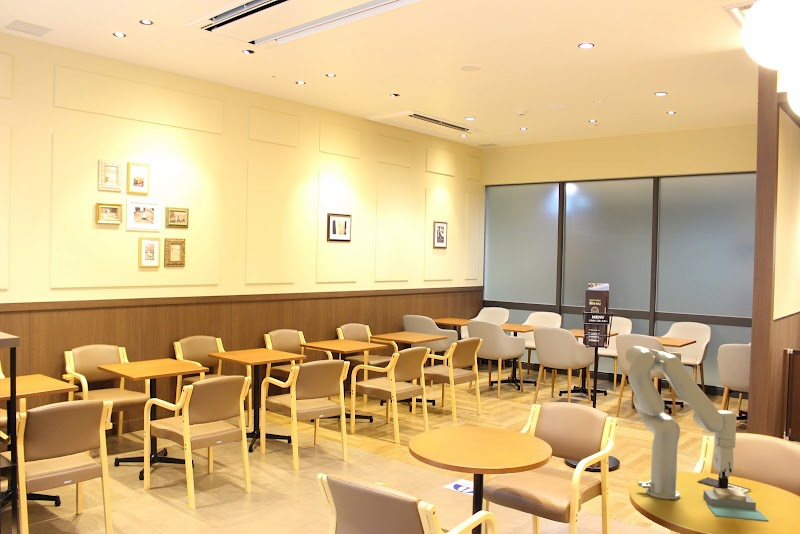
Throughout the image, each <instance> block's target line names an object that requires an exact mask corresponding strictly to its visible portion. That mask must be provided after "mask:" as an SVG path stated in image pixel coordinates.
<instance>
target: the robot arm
mask: <svg viewBox="0 0 800 534" xmlns="http://www.w3.org/2000/svg"><path fill="white" fill-rule="evenodd" d="M625 360H626V362H627V363H628V364H629V365H630V366H629V369H628V376H627V377H628V383H629V386H630V388H631V390H632V391H633V395H632V402H633V405H634V408H635V409H636V411H637V413H638V415H639V416H640V419H641V420H642V422H643V424H644V426H645V427H646V429H648V431H649V432H651V433H652V434H653V440H652V444H651V456H650V457H651V459H650V460H651V461H650V463H651V464H650V479H648V481H645V482H643V481H640V480H639V481H638V482H637V486H638V487H640V488H641V487H642V488H641V489H645V492H646V494H647V495H649V496H651V497H653V498H655V499H656V498H657V499H661V500H669V499H670V501H671V499H672V500H678V499H679V498H681V493H680V492H679V491H677V475H678V474H677V469H678V449H679V448H678V447H679V440H680V437H681V427H680V424H679V423H678V421H677V420H676V419H675V418H673V417H672V416H670V415H669V414H667V413H665V407H666V406H665V401H664V399H663V397H662V396H661V394H660V393H659V390H658V389H657V387H656V386H655V383H654V382H653V380H652V375H651V374H652V373H651V372H652V371H654V372H658V373H662V374H663V375H664V377H665V379H666V381H667V382H668V383H669V385H670V386H671V388H672V389H673V391H674V392H675V394H676V395H677V396H678V397H679V398H680V399H681V400H682V402H684V403H685V404H687V405H688V406H689V407H690V408H691V409H692V410H693V411H694V412H693V414H692V419H693V422H694V423H695V424H696V425H698V426H699V427H700V428H702V429H704V430H706V431H707V432H709V433H714V443H713V444H714V452H713V460H712V461H713V463H712V464H713V467H714V468H715V469H716V470H717V471H718V474H717V475H718V479H717V480H718V487H719V488H724V489H728V483H729V477H730V476H731V475H730V474H733V472H734V449H735V448H736V439H737V437H736V436H737V435H736V433H737V413H735V412H734V411H731V410H727V409H721V410H720V409H717V407H716V406H715V405H714V403H713V401H711V400H710V399H709V397H708V396H707V395H706V394H705V392H704V391H703V390H702V389H701V388H700V387H699V385H698V384H697V383H696V381H695V380H694V378H693V377H692V375H691V374H690V372H689V371H688V370H687V367H685V364H684V363H683V362H682V361H681V359H680V358H679V357H678V356H676V355H674V354H672V353H669V352H665V351H662V350H661V351H660V350H656V349H651V348H647V347H644V346H640V345H632V346H630V347H628V348H627V350H626V352H625Z"/></svg>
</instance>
